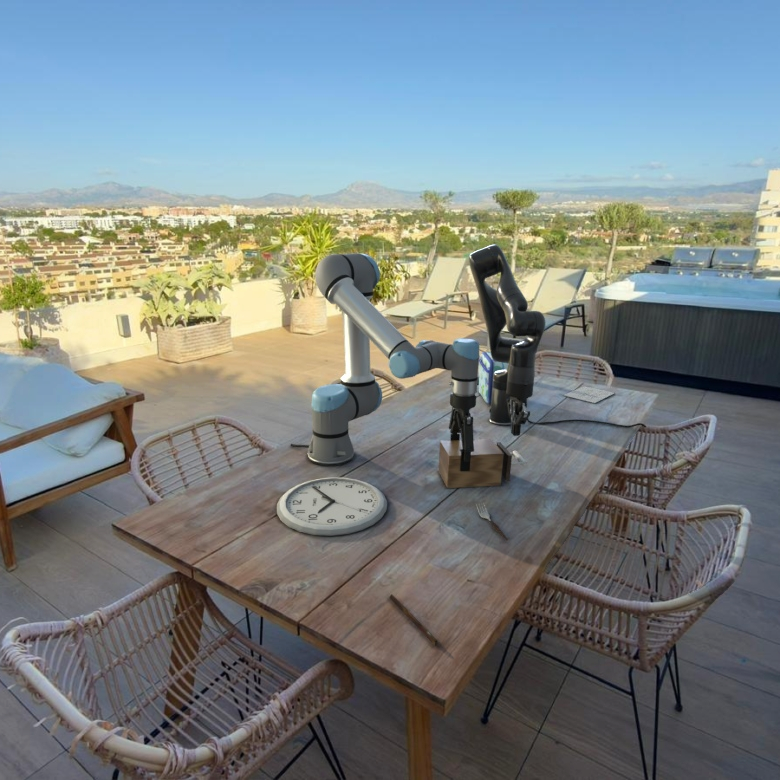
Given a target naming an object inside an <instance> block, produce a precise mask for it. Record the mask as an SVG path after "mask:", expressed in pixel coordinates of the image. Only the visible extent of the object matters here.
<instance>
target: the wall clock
mask: <svg viewBox="0 0 780 780" xmlns="http://www.w3.org/2000/svg"><path fill="white" fill-rule="evenodd" d="M387 509H388V500H387V498H386V496H385V494H384V493H383V492H382V491H381V490H380V489H379V488H377V487H376V486H374V485H372V484H371V483H369V482H365V481H362V480H359V479H355V478H349V477H338V476H337V477H335V476H333V477H332V476H331V477H322V478H317V479H312V480H307V481H305V482H302V483H299V484H297V485H295V486H293V487H292V488H290V489H288V490H287V491H286V492H285V493H284V494H283V495H281V496H280V498H279V499H278V502H277V503H276V515H277V517H278V518H279V520H280V521H281V522H282V523H283V524H285V525H286V526H287V527H288V528H290V529H293V530H295V531H297V532H299V533H303V534H308V535H312V536H327V537H328V536H329V537H331V536H332V537H333V536H342V535H350V534H352V533H356V532H361V531H363V530H366V529H368V528H369V527H372V526H373V525H375V524H376V523H378V522H379V521H380V520H381V519H382V518H383V517H384V516H385V514H386V512H387Z"/></svg>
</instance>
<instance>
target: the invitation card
mask: <svg viewBox="0 0 780 780" xmlns="http://www.w3.org/2000/svg"><path fill="white" fill-rule="evenodd" d="M614 394H616V393H615V392H612V391H607V390H605V389H604V390H603V389H599V388H594V387H590V386H586V385H583V386H581V387H578V388H576V389H574V390H572V391H569V392H567V393H565V394H563V395H562V396H563V397H568V398H572V399H576V400H580V401H583V402H587V403H592V404H596V403H599V402H601V401H603V400H604V399H607V398H608V397H610V396H613V395H614Z"/></svg>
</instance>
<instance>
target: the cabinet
mask: <svg viewBox="0 0 780 780" xmlns="http://www.w3.org/2000/svg"><path fill="white" fill-rule="evenodd" d="M461 449H462V440H461V439H460V440H451V441H450V440H439V451H438V452H439V454H438V455H439V456H438V473H439V475H440V477H441V479H442V482H443V483H444V485H445V487H446V488H447V489H459V488H461V489H462V488H477V487H478V488H479V487H496V486H501V485H502V465H503V452H502V451H501V450H500V449H499V448H498V446H497V443H495V442H494V441H493V439H492V438H478V439H474V452H471V459H470V471H460V461H461V452H460V450H461Z"/></svg>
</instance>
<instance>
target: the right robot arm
mask: <svg viewBox="0 0 780 780" xmlns="http://www.w3.org/2000/svg"><path fill="white" fill-rule="evenodd" d="M468 264H469V268H470V272H471V275H472V278H473V281H474V283H475V288H476V291H477V295H478V298H479V302H480V303H479V304H480V308H481V312H482V317H483V320H484V323H485V326H486V332H487V336H488V343H489V352H491V356H492V359H493V360H494V361H497V362H502V363H508V368H506V369H502V370H497V371H495V372H494V374H493V385H492V398H491V404H490V408H489V414H490V415H489V422H490V423H491V424H494V425H497V426H510V427H511V428H510V433H511V434H512V437H513V436H514V437H519V436H520V435H521V429H522V425H525V424H526V423H529V424H534V425H553V424H559V423H571V422H572V423H573V422H583V423H585V422H586V423H596V424H602V425H609V426H614V427H620V428H634V427H637V426H642V427H643V428H647V425H645V424H644V423H640V422H637V423H634V424H630V425H625V424H617V423H613V422H607V421H601V420H593V419H560V420H555V421H554V420H553V421H542V422H541V421H540V422H535V421H531V420H530V419H529V417H530V416H531V412H530V410H528V409H527V408H528V399H529V398H531V397H532V396H533V394H534V384H535V375H536V373H535V372H536V371H535V370H536V369H535V367H536V366H535V364H536V356H537V350H538V348H539V345H540V342H541V340H542V337H543V335H544V333H545V330H546V318H545V315H544V314H543V313H542V312H541V311H539V310H528V308H529V307H528V306H529V304H528V303H529V302H528V301H527V298H526V297H525V295H524V294H523V293H522V290H521V289H520V288H519V286H518V284H517V281H516V279H515V277H514V274H513V271H512V269H511V267H510V264H509V262H508V260H507V257H506V255H505V253H504V251H503V249H502V248H501V246H499V245H497V244H491V245H488V246H486V247H483V248H481V249H478V250H476V251H474V252H471V253H470V254H469V255H468ZM498 274H500V278H499V281H498V284H497V288H494V287H492V286H491V285H490V284H489V283H487V281H486V279H488V278H491V277H493V276H495V275H498ZM505 327H506V329H507V331H508V334H511V335H512V336H513V337H525V338H524V339H523V341H520V340H518V339H513V338H504V337H502V336H501V333H502V331H503V329H505Z"/></svg>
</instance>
